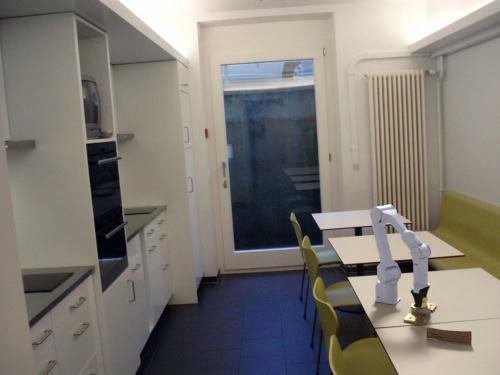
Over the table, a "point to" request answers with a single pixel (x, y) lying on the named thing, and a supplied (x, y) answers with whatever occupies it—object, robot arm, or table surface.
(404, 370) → the table surface
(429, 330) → the wood plank
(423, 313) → the hinge
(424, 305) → the hinge pin
